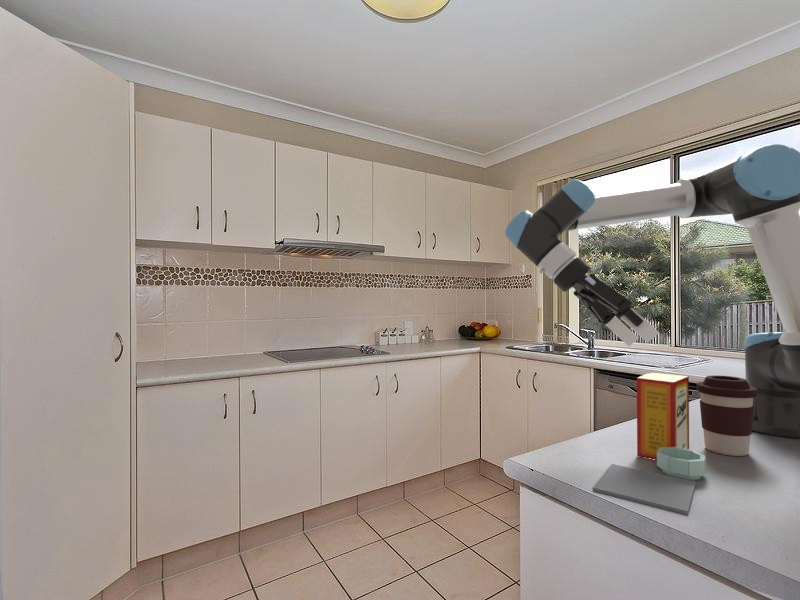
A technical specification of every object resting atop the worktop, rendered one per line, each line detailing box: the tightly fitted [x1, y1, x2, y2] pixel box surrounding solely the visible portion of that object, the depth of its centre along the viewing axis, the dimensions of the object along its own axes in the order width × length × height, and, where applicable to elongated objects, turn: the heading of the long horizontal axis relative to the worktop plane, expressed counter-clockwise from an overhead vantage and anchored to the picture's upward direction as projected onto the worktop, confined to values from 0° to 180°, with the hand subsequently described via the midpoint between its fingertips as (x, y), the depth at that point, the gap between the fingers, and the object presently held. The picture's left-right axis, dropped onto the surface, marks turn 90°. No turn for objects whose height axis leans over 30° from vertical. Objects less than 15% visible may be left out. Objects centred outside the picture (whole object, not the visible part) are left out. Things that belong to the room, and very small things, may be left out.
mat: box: [592, 463, 697, 515], centre depth 72 cm, size 13×13×1 cm
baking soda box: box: [636, 372, 690, 461], centre depth 87 cm, size 10×6×16 cm
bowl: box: [656, 447, 707, 481], centre depth 77 cm, size 7×7×4 cm
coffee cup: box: [696, 374, 757, 457], centre depth 89 cm, size 10×10×15 cm
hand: (642, 340), depth 88 cm, fingers open, 13 cm apart
